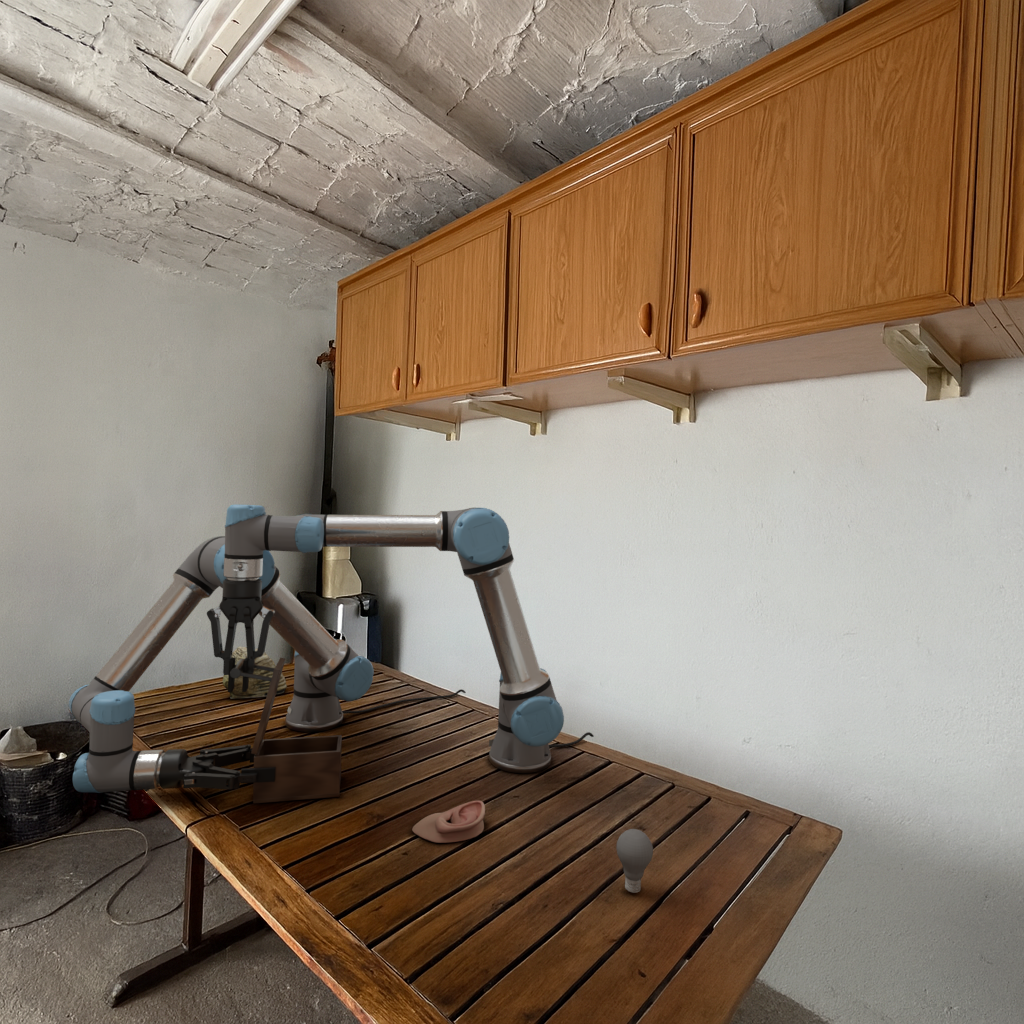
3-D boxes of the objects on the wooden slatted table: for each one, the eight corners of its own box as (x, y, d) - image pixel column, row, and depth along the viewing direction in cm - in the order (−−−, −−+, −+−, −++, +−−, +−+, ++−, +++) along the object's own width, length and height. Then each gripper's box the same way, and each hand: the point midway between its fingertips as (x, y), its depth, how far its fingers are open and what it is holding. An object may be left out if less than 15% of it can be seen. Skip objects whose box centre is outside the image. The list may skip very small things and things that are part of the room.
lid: (285, 658, 139) (241, 649, 137) (279, 670, 130) (232, 660, 128) (263, 737, 139) (219, 729, 137) (256, 754, 130) (208, 746, 127)
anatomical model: (406, 817, 119) (427, 790, 130) (406, 838, 119) (426, 809, 130) (475, 827, 116) (490, 799, 127) (474, 849, 116) (489, 818, 127)
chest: (341, 777, 143) (341, 734, 142) (339, 796, 133) (340, 751, 133) (260, 783, 139) (261, 739, 139) (253, 803, 130) (253, 757, 129)
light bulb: (610, 879, 108) (613, 822, 108) (644, 879, 109) (647, 822, 109) (619, 902, 102) (622, 840, 102) (655, 901, 103) (658, 840, 103)
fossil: (218, 695, 195) (220, 647, 195) (278, 685, 208) (279, 640, 207) (228, 703, 189) (230, 653, 188) (289, 692, 201) (290, 645, 201)
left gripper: (178, 765, 141) (284, 760, 146) (144, 813, 119) (269, 806, 124) (179, 731, 141) (285, 728, 146) (145, 774, 119) (271, 768, 124)
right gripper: (199, 579, 127) (194, 696, 127) (278, 581, 131) (273, 694, 131) (208, 575, 134) (203, 685, 135) (283, 576, 138) (278, 684, 138)
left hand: (278, 764), depth 135 cm, fingers closed on chest, 9 cm apart
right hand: (238, 689), depth 133 cm, fingers closed on lid, 2 cm apart
